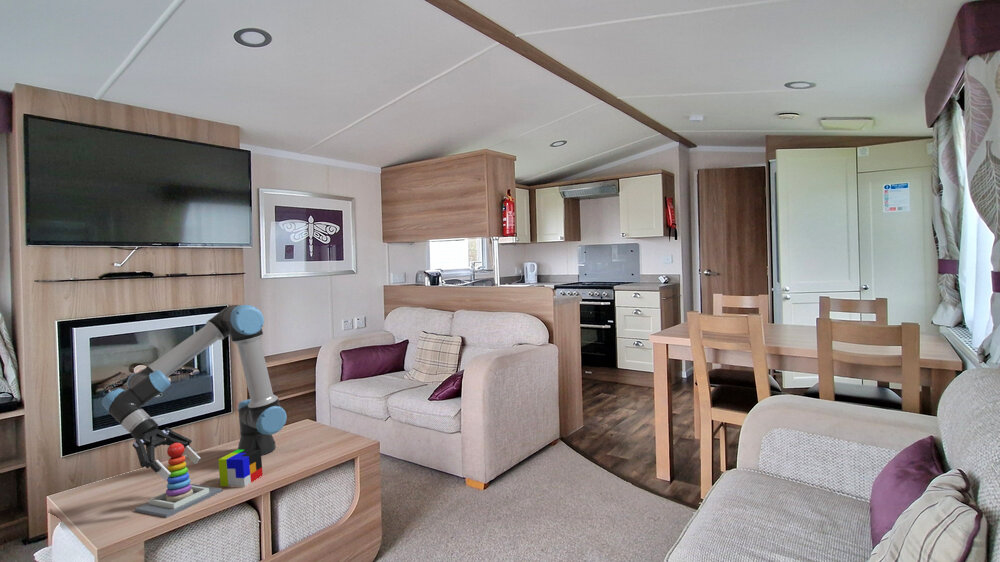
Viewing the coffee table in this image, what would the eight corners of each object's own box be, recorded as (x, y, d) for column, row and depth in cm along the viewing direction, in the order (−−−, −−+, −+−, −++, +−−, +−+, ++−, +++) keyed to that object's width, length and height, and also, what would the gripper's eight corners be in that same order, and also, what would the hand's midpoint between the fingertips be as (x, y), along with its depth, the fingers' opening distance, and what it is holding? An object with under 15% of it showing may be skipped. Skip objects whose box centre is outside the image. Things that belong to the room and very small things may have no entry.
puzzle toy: (244, 487, 187) (242, 459, 187) (220, 486, 189) (218, 459, 189) (262, 475, 197) (260, 449, 197) (239, 475, 199) (237, 449, 199)
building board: (191, 486, 191) (191, 479, 191) (222, 491, 184) (221, 484, 184) (134, 511, 172) (134, 503, 172) (166, 517, 166) (166, 509, 166)
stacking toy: (198, 494, 180) (194, 440, 180) (175, 504, 173) (171, 448, 173) (183, 491, 184) (179, 439, 184) (160, 501, 177) (156, 446, 176)
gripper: (163, 422, 192) (203, 462, 191) (102, 446, 168) (147, 492, 166) (174, 408, 192) (215, 447, 190) (115, 429, 167) (160, 475, 165)
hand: (183, 468), depth 178 cm, fingers open, 13 cm apart
